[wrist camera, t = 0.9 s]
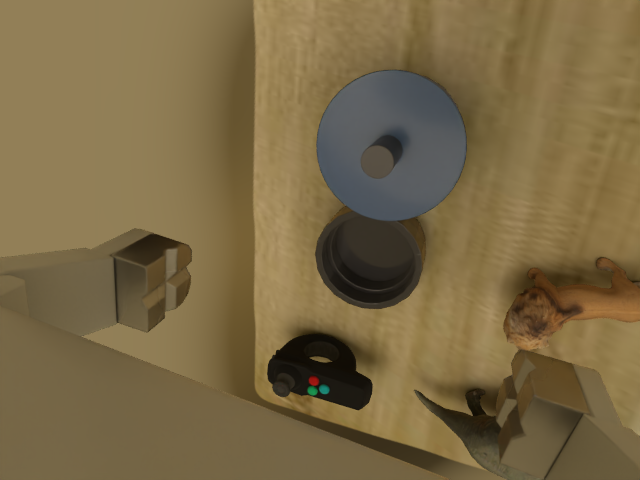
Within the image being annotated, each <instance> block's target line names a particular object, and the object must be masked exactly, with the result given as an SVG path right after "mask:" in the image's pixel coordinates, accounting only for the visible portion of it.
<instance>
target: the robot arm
mask: <svg viewBox="0 0 640 480" xmlns="http://www.w3.org/2000/svg"><path fill="white" fill-rule="evenodd" d="M191 255H192V250H191V248H190V247H189V245H187V244H184V243H181V242H178V241H175V240H172V239H169V238H166V237H163V236H160V235H157V234H154V233H152V232H148V231H145V230H142V229H136V228H135V229H132V230H130V231H128V232H126V233H124V234H122V235H120V236H118V237H116V238H114V239H111V240H110V241H107V242H105V243H103V244H101V245H99V246H97V247H95V248H93V249H91V250H90V249H87V248H80V249H72V250H63V251H54V252H45V253H37V254H28V255H19V256H11V257H1V258H0V480H450V479H448V478H445V477H443V476H440V475H437V474H435V473H432V472H430V471H427V470H424V469H422V468H419V467H417V466H414V465H412V464H409V463H406V462H404V461H401V460H399V459H396V458H393V457H391V456H388V455H386V454H383V453H380V452H378V451H375V450H373V449H370V448H368V447H365V446H362V445H360V444H357V443H354V442H352V441H349V440H347V439H344V438H342V437H339V436H337V435H334V434H331V433H329V432H326V431H324V430H321V429H318V428H316V427H313V426H310V425H308V424H305V423H303V422H300V421H298V420H295V419H292V418H290V417H287V416H285V415H282V414H280V413H277V412H275V411H272V410H269V409H267V408H264V407H262V406H259V405H256V404H254V403H251V402H249V401H246V400H243V399H241V398H238V397H236V396H233V395H230V394H228V393H225V392H223V391H220V390H217V389H215V388H212V387H210V386H207V385H205V384H202V383H200V382H197V381H194V380H192V379H189V378H186V377H184V376H181V375H179V374H176V373H174V372H171V371H169V370H166V369H163V368H161V367H158V366H156V365H153V364H150V363H148V362H145V361H143V360H140V359H138V358H135V357H132V356H130V355H127V354H125V353H122V352H119V351H117V350H114V349H111V348H109V347H107V346H104V345H101V344H99V343H96V342H94V341H91V340H88V339H86V338H83V337H81V336H84V335H87V334H90V333H93V332H95V331H98V330H101V329H104V328H107V327H110V326H113V325H116V324H117V323H120V324H123V325H126V326H129V327H132V328H135V329H138V330H141V331H144V332H149V331H150V330H151V329H152V328H153V327H155V326H156V325H157V324H158V323H159V322H161V321H162V320H163V319H164V318H165V312H166V311H170V310H173V309H176V308H177V307H178V306H180V305H181V304H182V303H183V301H184V299H185V298H186V296H187V294H188V292H189V288H190V284H191V275H190V273H189V272H188V270H187V268H186V266H187V265H188V264H189V263H190V262H191V261H192V256H191ZM511 366H512V373H513V375H511V376H509V377H507V378H505V379H504V380H503V383H502V385H501V387H500V390H499V393H498V397H497V402H496V422H497V423H498V424H499V425H500V427H501V428H502V429H501V431H500V433H499V435H498V448H499V458H500V463H501V464H504V465H506V466H509V467H511V468H514V469H516V470H519V471H521V472H524V473H526V474H529V475H531V476H534V477H536V478H539V479H541V480H640V437H639V436H638V435H637V434H636V433H635V432H634V431H633V430H632V429H629V428H626V427H623V426H622V424H621V421H620V419H619V417H618V415H617V412H616V410H615V408H614V406H613V403H612V401H611V399H610V397H609V394H608V392H607V390H606V388H605V385H604V383H603V381H602V379H601V376H600V374H599V373H598V372H597V371H596V370H594V369H590V368H586V367H583V366H579V365H575V364H572V363H568V362H565V361H561V360H558V359H554V358H551V357H547V356H544V355H540V354H537V353H533V352H530V351H526V350H523V349H519V350H518V352H517V353H516V354H515V356H514V358H513V360H512V363H511Z"/></svg>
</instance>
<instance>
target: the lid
mask: <svg viewBox="0 0 640 480" xmlns="http://www.w3.org/2000/svg"><path fill="white" fill-rule="evenodd" d="M466 150H467V141H466V131H465V126H464V123H463V119H462V116H461V114H460V112H459V110H458V108H457V106H456V105H455V103H454V102H453V100H452V99H451V97H450V96H449V95H448V94H447V93H446V92H445V91H444V90H443V89H442V88H441V87H440V86H438V85H437V84H436V83H434V82H433V81H431V80H429V79H428V78H426V77H424V76H421V75H419V74H416V73H413V72H409V71H403V70H383V71H377V72H373V73H369V74H366V75H364V76H362V77H359V78H357V79H355V80H354V81H352V82H351V83H349V84H348V85H346V86H345V87H344V88H343V89H342V90H340V91H339V92H338V94H337V95H336V96H335V97H334V98H333V99H332V101H331V102H330V104H329V105H328V107H327V108H326V110H325V112H324V114H323V117H322V119H321V122H320V125H319V129H318V134H317V157H318V163H319V166H320V170H321V173H322V175H323V177H324V180H325V181H326V183H327V185H328V187H329V188H330V190H331V191H332V192H333V194H334V195H335V196H336V197H337V198H338V199H339V200H340V201H341V202H342V203H343V204H345V205H346V206H347V207H348V208H350V209H352V210H353V211H355V212H357V213H359V214H361V215H363V216H366V217H369V218H372V219H377V220H384V221H400V220H405V219H410V218H413V217H417V216H419V215H421V214H424V213H426V212H427V211H429V210H431V209H432V208H434V207H435V206H437V205H438V204H439V203H440V202H442V201H443V200H444V199H445V198H446V196H447V195H448V194H449V193H450V192H451V190H452V189H453V188H454V186H455V185H456V183H457V181H458V179H459V177H460V175H461V172H462V170H463V167H464V163H465V158H466Z"/></svg>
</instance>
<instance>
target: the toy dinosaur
mask: <svg viewBox="0 0 640 480" xmlns="http://www.w3.org/2000/svg"><path fill="white" fill-rule="evenodd" d="M414 391H415V393H416V395H417V397H418V398H419V399H420V400H421V402H422V403H423V404H424V405H425V406H426V407H427V408H428V409H429V410H430V411H431V412H432V413H434V414H435V415H436V416H438V417H439V418H440V419H441V420H443V421H444V422H445V424H446V425H447V426H448V427H450V429H451V430H452V431H454V433H456V434H457V436H458V437H460V439H461V440H462V441H463V443H464V444H465V446H466V447H467V449H468V451H469V453H470V455H471V456H472V457H473V458H474V459H475V460H476V461H477V463H479V464H480V465H481V466H482V467H483V468H485V469H487V470H488V471H490V472H492V473H494V474H496V475H499V476H501V477H503V478H505V479H507V480H541V479H539V478H536V477H534V476H531V475H529V474H526V473H524V472H521V471H519V470H516V469H514V468H511V467H509V466H506V465H504V464H501V463H500V458H499V448H498V435H499V433H500V431H501V429H502V428H501V427H500V425H499V424H498V423H497V422H496V416H494V417H491V416H488V415H486V413H485V412H484V410H483V409H482V407H481V405H480V399H481V397H480V396H481V395H484V394H485V391H483V390H481V389H478V390H475V391H472V392H469V393H467V394H466V395H465V396H466V399H467V404H468V407H469V409H470V410H471V412H472V414H473V416H471V415H468V414H466V413H463V412H458V411H454V410H450V409H445V408H443V407H441V406H439V405H437V404H436V403H434V402H432V401H431V400H429V399H428V398H426V397H425V396H424V395H423V394H422V393H421V392H419V391H417V390H414Z"/></svg>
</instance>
